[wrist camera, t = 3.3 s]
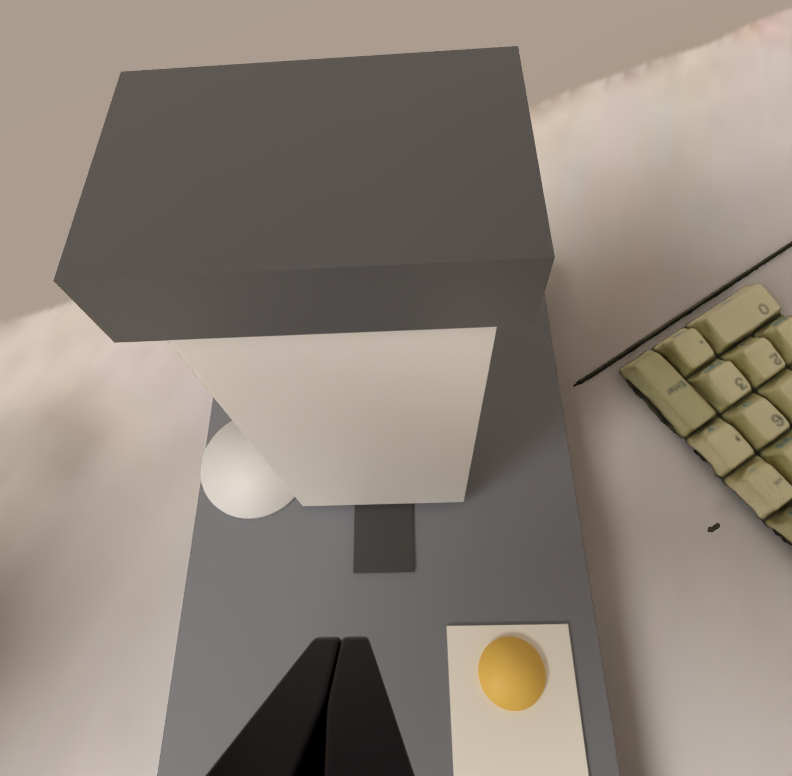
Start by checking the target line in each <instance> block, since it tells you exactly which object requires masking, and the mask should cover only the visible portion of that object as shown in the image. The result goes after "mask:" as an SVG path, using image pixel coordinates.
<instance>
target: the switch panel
mask: <svg viewBox="0 0 792 776" xmlns="http://www.w3.org/2000/svg"><path fill="white" fill-rule="evenodd" d="M200 474H201V484H200V491H199V498H198V504H197V511H196V518H195V525H194V531H193V538H192V545H191V552H190V558H189V565H188V572H187V578H186V585H185V592H184V599H183V605H182V612H181V619H180V626H179V632H178V639H177V646H176V653H175V659H174V666H173V673H172V679H171V686H170V693H169V700H168V706H167V713H166V720H165V727H164V733H163V740H162V747H161V754H160V760H159V767H158V774H157V776H205V775H206V774H207V773H208V772H209V770H210V769H211V768H212V767H213V765H214V764H215V763H216V762H217V760H218V759H219V758H220V756H221V755H222V754H223V753H224V751H225V750H226V749H227V748H228V746H229V745H230V744H231V743H232V741H233V740H234V739H235V737H236V736H237V735H238V734H239V732H240V731H241V730H242V729H243V727H244V726H245V725H246V724H247V722H248V721H249V720H250V719H251V717H252V716H253V715H254V713H255V712H256V711H257V710H258V708H259V707H260V706H261V705H262V703H263V702H264V701H265V700H266V698H267V697H268V696H269V695H270V693H271V692H272V691H273V689H274V688H275V687H276V686H277V684H278V683H279V682H280V681H281V679H282V678H283V677H284V676H285V674H286V673H287V672H288V671H289V669H290V668H291V667H292V665H293V664H294V663H295V662H296V660H297V659H298V658H299V657H300V655H301V654H302V653H303V652H304V650H305V649H306V648H307V646H308V645H309V644H310V643H311V641H312V640H313V639H315V638H316V637H339V638H340V639H341V640H342V639H343V638H344V637H347V636H366V637H367V638H368V639H369V641H370V643H371V646H372V649H373V652H374V655H375V658H376V661H377V664H378V667H379V670H380V673H381V676H382V679H383V682H384V685H385V688H386V691H387V694H388V697H389V700H390V703H391V706H392V709H393V712H394V715H395V718H396V721H397V724H398V727H399V730H400V732H401V735H402V738H403V741H404V744H405V747H406V750H407V753H408V756H409V759H410V762H411V765H412V768H413V771H414V774H415V776H620V774H619V768H618V761H617V755H616V749H615V742H614V736H613V729H612V723H611V717H610V710H609V704H608V698H607V691H606V685H605V679H604V672H603V666H602V659H601V653H600V647H599V640H598V634H597V628H596V621H595V615H594V608H593V602H592V596H591V589H590V583H589V577H588V570H587V564H586V558H585V551H584V545H583V538H582V532H581V526H580V519H579V513H578V507H577V500H576V494H575V488H574V481H573V475H572V468H571V462H570V456H569V449H568V443H567V437H566V430H565V424H564V418H563V411H562V405H561V398H560V392H559V386H558V379H557V373H556V367H555V360H554V354H553V348H552V341H551V335H550V328H549V322H548V316H547V309H546V303H545V297H544V294H543V298H542V301H541V304H540V308H539V311H538V314H537V318H536V321H535V324H534V325H528V326H504V327H497V328H496V334H495V339H494V344H493V349H492V355H491V360H490V365H489V371H488V376H487V381H486V386H485V392H484V397H483V402H482V407H481V413H480V418H479V423H478V429H477V434H476V439H475V444H474V450H473V455H472V460H471V465H470V471H469V476H468V481H467V487H466V492H465V497H464V502H445V503H407V504H369V505H331V506H302V505H301V504H300V502H299V501H298V500H297V499H296V497H295V496H294V495H293V494H292V493H291V491H290V490H289V489H288V488H287V486H286V485H285V484H284V483H283V482H282V480H281V479H280V478H279V477H278V475H277V474H276V473H275V472H274V471H273V469H272V468H271V467H270V466H269V464H268V463H267V462H266V461H265V460H264V458H263V457H262V456H261V455H260V453H259V452H258V451H257V450H256V449H255V447H254V446H253V445H252V444H251V443H250V441H249V440H248V439H247V438H246V436H245V435H244V434H243V433H242V432H241V430H240V429H239V428H238V427H237V425H236V424H235V423H234V422H233V421H232V419H231V418H230V417H229V416H228V414H227V413H226V412H225V411H224V410H223V408H222V407H221V406H220V405H219V403H218V402H217V401H216V400H215V399H214V397H213V403H212V410H211V417H210V424H209V430H208V437H207V444H206V449H205V452H204V455H203V457H202V462H201V469H200Z"/></svg>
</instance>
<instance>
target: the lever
mask: <svg viewBox="0 0 792 776" xmlns="http://www.w3.org/2000/svg"><path fill="white" fill-rule="evenodd" d="M554 258H555V257H554V251H553V245H552V240H551V234H550V228H549V222H548V217H547V211H546V205H545V199H544V194H543V188H542V182H541V176H540V171H539V165H538V159H537V153H536V147H535V142H534V136H533V130H532V124H531V119H530V113H529V107H528V101H527V96H526V90H525V84H524V79H523V73H522V67H521V61H520V55H519V49H518V46H513V47H498V48H483V49H467V50H451V51H435V52H420V53H404V54H390V55H374V56H358V57H344V58H327V59H311V60H297V61H281V62H265V63H250V64H234V65H219V66H203V67H188V68H173V69H158V70H141V71H127V72H121V73H120V77H119V80H118V83H117V86H116V89H115V92H114V95H113V98H112V101H111V104H110V107H109V111H108V114H107V117H106V120H105V123H104V126H103V129H102V132H101V136H100V139H99V142H98V145H97V148H96V151H95V154H94V157H93V160H92V163H91V166H90V169H89V173H88V176H87V179H86V182H85V185H84V188H83V191H82V194H81V198H80V200H79V204H78V207H77V210H76V213H75V216H74V219H73V222H72V226H71V229H70V231H69V235H68V238H67V241H66V244H65V247H64V250H63V254H62V256H61V259H60V262H59V266H58V269H57V272H56V275H55V278H54V282H55V283H56V284H57V285H58V286H59V287H60V288H61V289H62V290H63V291H64V292H65V293H66V294H67V295H68V296H69V297H70V298H71V299H72V300H73V301H74V302H75V303H76V304H77V305H78V306H79V307H80V308H81V309H82V310H83V311H84V312H85V313H86V314H87V315H88V316H89V317H90V318H91V319H92V320H93V321H94V322H95V323H96V324H97V325H98V326H99V327H100V328H101V329H102V330H103V331H104V332H105V333H106V334H107V335H108V336H109V337H110V338H111V339H112V340H113V341H114V342H138V341H163V340H167V341H168V342H169V344H170V345H171V346H172V347H173V349H174V350H175V351H176V352H177V353H178V355H179V356H180V357H181V358H182V360H183V361H184V362H185V363H186V364H187V366H188V367H189V368H190V369H191V371H192V372H193V373H194V374H195V375H196V377H197V378H198V379H199V380H200V381H201V383H202V384H203V385H204V386H205V388H206V389H207V390H208V391H209V392H210V394H211V395H212V396H213V397H214V399H215V400H216V401H217V402H218V403H219V405H220V406H221V407H222V408H223V410H224V411H225V412H226V413H227V414H228V416H229V417H230V418H231V419H232V421H233V422H234V423H235V424H236V425H237V427H238V428H239V429H240V430H241V432H242V433H243V434H244V435H245V436H246V438H247V439H248V440H249V441H250V443H251V444H252V445H253V446H254V447H255V449H256V450H257V451H258V452H259V453H260V455H261V456H262V457H263V458H264V460H265V461H266V462H267V463H268V464H269V466H270V467H271V468H272V469H273V471H274V472H275V473H276V474H277V475H278V477H279V478H280V479H281V480H282V482H283V483H284V484H285V485H286V486H287V488H288V489H289V490H290V491H291V493H292V494H293V495H294V496H295V497H296V499H297V500H298V501H299V502H300V504H301V505H302V506H331V505H369V504H407V503H445V502H464V497H465V492H466V487H467V481H468V476H469V471H470V465H471V460H472V455H473V450H474V444H475V439H476V434H477V429H478V423H479V418H480V413H481V407H482V402H483V397H484V392H485V386H486V381H487V376H488V371H489V365H490V360H491V355H492V349H493V344H494V339H495V334H496V328H497V327H504V326H528V325H534V324H535V321H536V318H537V314H538V311H539V308H540V304H541V301H542V298H543V294H544V291H545V288H546V284H547V281H548V278H549V274H550V271H551V268H552V264H553V261H554Z"/></svg>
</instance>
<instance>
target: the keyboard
mask: <svg viewBox="0 0 792 776" xmlns="http://www.w3.org/2000/svg"><path fill="white" fill-rule="evenodd" d="M791 246H792V242H790V243H789V244H787V245H786V246H784V247H782V248H781V249H779V250H778V251H777V252H775V253H773V254H772V255H770V256H769V257H767V258H766V259H764V260H763V261H761V262H759V263H758V264H757V265H755V266H753V267H752V268H751V269H749V270H747V271H746V272H744V273H742V274H741V275H739V276H738V277H736V278H735V279H733V280H732V281H730V282H729V283H727V284H726V285H724V286H722V287H721V288H719V289H718V290H716V291H715V292H713V293H712V294H710V295H709V296H707V297H706V298H704V299H702V300H701V301H699V302H698V303H696V304H695V305H693V306H692V307H690V308H689V309H687V310H686V311H684V312H683V313H681V314H679V315H678V316H676V317H675V318H673V319H672V320H670V321H669V322H667V323H666V324H664V325H663V326H661V327H660V328H659V329H657V330H655V331H654V332H652V333H651V334H649V335H647V336H646V337H645V338H643V339H642V340H640V341H638V342H637V343H635V344H634V345H632V346H630V347H629V348H628V349H626V350H625V351H623V352H622V353H620V354H619V355H617V356H616V357H614V358H613V359H611V360H610V361H608V362H607V363H605V364H604V365H602V366H601V367H599V368H598V369H596V370H595V371H593V372H592V373H590V374H589V375H587V376H585V377H584V378H583V379H581V380H579V381H578V382H577V383H576V384H575V385H574V386H576V385H578V384H582V383H583V382H584V381H586V380H588V379H590V378H592V377H593V376H595V375H596V374H598V373H600V372H601V371H603V370H604V369H606V368H607V367H608V366H610V365H612V364H613V363H614V362H616V361H617V360H619V359H621V358H622V357H624V356H625V355H627V354H628V353H630V352H632V351H634V350H635V349H636V348H638V347H639V346H640V345H641V344H643V343H644V342H646V341H647V340H649V339H651V338H652V337H654V336H656V335H657V334H659V333H660V332H662V331H663V330H665V329H666V328H668V327H669V326H671V325H672V324H674V323H675V322H677V321H678V320H680V319H681V318H683V317H684V316H686V315H688V314H690V313H691V312H693V311H694V310H695V309H697V308H698V307H700V306H701V305H702V304H704V303H706V302H707V301H709V300H711V299H712V298H714V297H716V296H718V295H719V294H720V293H722V292H723V291H725V290H726V289H728V288H729V287H731V286H732V285H733V284H735V283H736V282H738V281H740V280H741V279H742V278H744V277H746V276H748V275H749V274H750V273H752V272H753V271H754V270H757V269H758V268H759V267H760V266H762V265H764V264H765V263H767V262H769V261H770V260H771V259H773V258H774V257H775V256H777V255H779V254H781V253H782V252H784V251H785V250H786V249H788V248H789V247H791ZM780 309H781V307H780V305H779V304H778V303H777V302H776V300H775V299H774V298H773V297H772V296H771V294H770V293H769V292H768V291H767V290H766V288H765V287H764V286H763V285H761V284H755V285H750V286H745V287H743V288H741V289H740V290H739V291H737V292H736V293H735V294H733V295H731V296H730V297H729V298H727V299H725V300H724V301H723V302H721V303H720V304H718V305H716V306H715V307H713V308H712V309H710V310H709V311H707V312H705V313H704V314H703V315H701V316H700V317H698V318H696V319H695V320H693V321H692V322H690V323H688V324H686V326H685V328H681V329H679V330H678V331H677V332H676V333H675V334H673V335H671V336H670V337H668V338H667V339H665V340H664V341H662V342H661V343H660V344H658V345H656V346H654V347H653V349H652V350H647V351H645V352H644V353H642V354H641V355H640V356H639V357H638V358H637V359H635V360H634V361H632V362H630V363H628V364H626V365H625V366H623V367H622V368H620V369H619V373H620V374H621V375H623V376H624V377H625V378H626V381H627V383H628V384H629V386H630V387H631V388H632V389H633V391H634V392H635V393H636V394H637V395H638V396H639V397H640V398H642V399H643V400H644V401H645V402H646V403H647V404H648V406H649V407H650V409H651V410H652V411H653V412H654V413H655V414H656V415H657V416H658V417H659V419H660V420H661V421H662V422H663V423H664V424H666V425H667V426H668V427H669V428H670V429H671V430H672V431H673V432H674V433H677V435H678V436H680V437H682V438H685V439H686V443H687V444H688V445H690V446H691V447H693V448H694V452H695V453H696V454H697V455H699V456H700V457H701V459H702V460H703V461H706V462H708V463H709V464H710V465H711V466H712V467H713V470H714V472H715V474H716V476H717V477H719V478H721V479H722V480H723V482H724V483H725V484H726V485H727V486H729V487H730V488H731V489H733V490H734V492H735V493H736V494H737V495H738V496H739V497H740V498H741V499H742V500H744V501H745V502H746V503H747V504H748V505H749V506H750V507H751V508H752V509H753V510H754V511H755V512H756V514H757V516H758V518H759V519H761V520H762V521H763V522H764V524H765V525H766V526H768V527H771V528H773V531H774V533H775V534H776V535H778V536H780V537H781V538H782V540H783V541H784V542H786V543H788V544H790V545H792V316H784V315H781V314H780ZM574 386H573V387H574ZM719 527H720V524H719V523H716V524H715V525H713V526H712V527H708V532H713V531H715V530H716V529H718V528H719Z"/></svg>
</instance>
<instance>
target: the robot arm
mask: <svg viewBox="0 0 792 776" xmlns="http://www.w3.org/2000/svg"><path fill="white" fill-rule="evenodd" d="M205 776H415V774H414V771H413V768H412V765H411V762H410V759H409V756H408V753H407V750H406V747H405V744H404V741H403V738H402V735H401V732H400V730H399V727H398V724H397V721H396V718H395V715H394V712H393V709H392V706H391V703H390V700H389V697H388V694H387V691H386V688H385V685H384V682H383V679H382V676H381V673H380V670H379V667H378V664H377V661H376V658H375V655H374V652H373V649H372V646H371V643H370V641H369V639H368V638H367V637H366V636H347V637H344V638H343V639H342V640H341V639H340V638H339V637H316V638H315V639H313V640H312V641H311V643H310V644H309V645H308V646H307V648H306V649H305V650H304V652H303V653H302V654H301V655H300V657H299V658H298V659H297V660H296V662H295V663H294V664H293V665H292V667H291V668H290V669H289V671H288V672H287V673H286V674H285V676H284V677H283V678H282V679H281V681H280V682H279V683H278V684H277V686H276V687H275V688H274V689H273V691H272V692H271V693H270V695H269V696H268V697H267V698H266V700H265V701H264V702H263V703H262V705H261V706H260V707H259V708H258V710H257V711H256V712H255V713H254V715H253V716H252V717H251V719H250V720H249V721H248V722H247V724H246V725H245V726H244V727H243V729H242V730H241V731H240V732H239V734H238V735H237V736H236V737H235V739H234V740H233V741H232V743H231V744H230V745H229V746H228V748H227V749H226V750H225V751H224V753H223V754H222V755H221V756H220V758H219V759H218V760H217V762H216V763H215V764H214V765H213V767H212V768H211V769H210V770H209V772H208V773H207V774H206V775H205Z"/></svg>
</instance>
